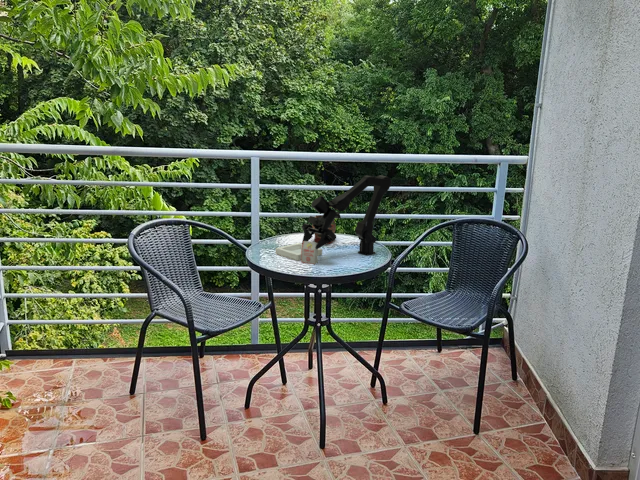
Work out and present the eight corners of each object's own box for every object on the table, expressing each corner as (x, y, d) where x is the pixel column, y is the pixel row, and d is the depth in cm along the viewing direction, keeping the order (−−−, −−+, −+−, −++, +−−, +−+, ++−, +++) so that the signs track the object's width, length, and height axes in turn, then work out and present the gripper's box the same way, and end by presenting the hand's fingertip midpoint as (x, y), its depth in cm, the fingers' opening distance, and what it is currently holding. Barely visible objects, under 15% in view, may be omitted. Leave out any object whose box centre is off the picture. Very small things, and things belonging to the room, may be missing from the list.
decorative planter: (318, 236, 308) (318, 211, 305) (339, 238, 305) (340, 213, 302) (307, 245, 290) (307, 218, 286) (330, 247, 287) (330, 220, 283)
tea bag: (304, 260, 263) (305, 239, 261) (317, 262, 260) (318, 241, 258) (301, 262, 260) (301, 241, 257) (314, 264, 257) (314, 243, 254)
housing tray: (322, 255, 272) (322, 249, 272) (297, 261, 261) (297, 255, 261) (300, 248, 283) (300, 242, 283) (275, 254, 273) (275, 248, 272)
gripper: (304, 206, 264) (286, 232, 259) (332, 212, 251) (314, 240, 246) (316, 220, 271) (299, 246, 266) (344, 227, 258) (326, 254, 253)
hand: (309, 246), depth 258 cm, fingers open, 9 cm apart
